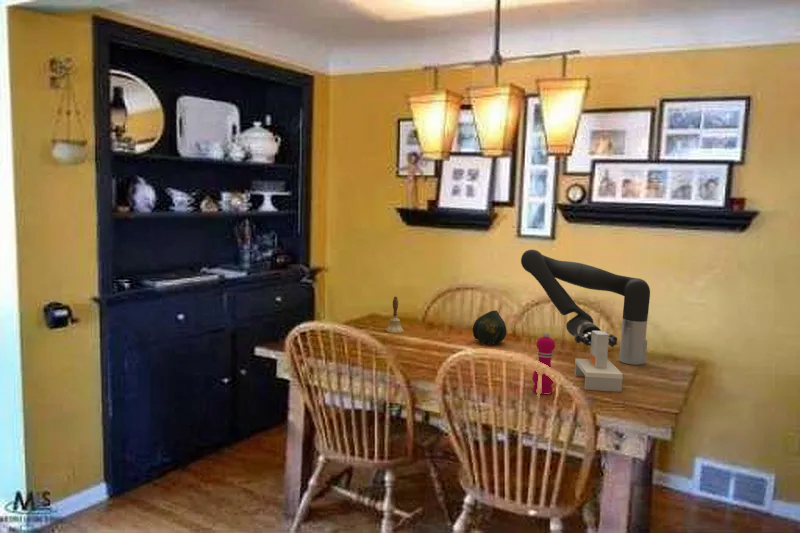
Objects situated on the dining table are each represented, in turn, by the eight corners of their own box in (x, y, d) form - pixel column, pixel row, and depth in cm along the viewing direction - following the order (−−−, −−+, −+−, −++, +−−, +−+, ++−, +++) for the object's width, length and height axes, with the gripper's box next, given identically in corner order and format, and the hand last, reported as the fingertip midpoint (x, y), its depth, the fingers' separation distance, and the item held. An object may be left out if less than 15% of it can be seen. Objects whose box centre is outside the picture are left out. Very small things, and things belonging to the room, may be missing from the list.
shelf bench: (607, 376, 234) (609, 360, 233) (621, 391, 216) (622, 374, 215) (574, 374, 234) (575, 358, 234) (585, 389, 217) (586, 372, 216)
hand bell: (403, 333, 291) (404, 298, 289) (385, 332, 291) (386, 297, 289) (403, 329, 299) (405, 295, 297) (385, 328, 299) (387, 294, 297)
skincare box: (588, 363, 227) (591, 330, 226) (600, 363, 228) (603, 330, 226) (594, 368, 221) (597, 334, 220) (606, 368, 222) (609, 334, 220)
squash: (463, 331, 273) (488, 307, 270) (469, 326, 288) (493, 303, 284) (487, 356, 271) (512, 332, 268) (491, 349, 286) (516, 326, 282)
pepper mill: (554, 396, 208) (558, 335, 206) (531, 393, 210) (535, 333, 207) (553, 389, 215) (557, 331, 213) (531, 387, 217) (535, 329, 214)
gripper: (570, 322, 240) (580, 331, 224) (609, 324, 239) (621, 333, 223) (569, 342, 241) (578, 352, 225) (607, 344, 240) (620, 355, 224)
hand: (600, 343), depth 224 cm, fingers open, 8 cm apart
